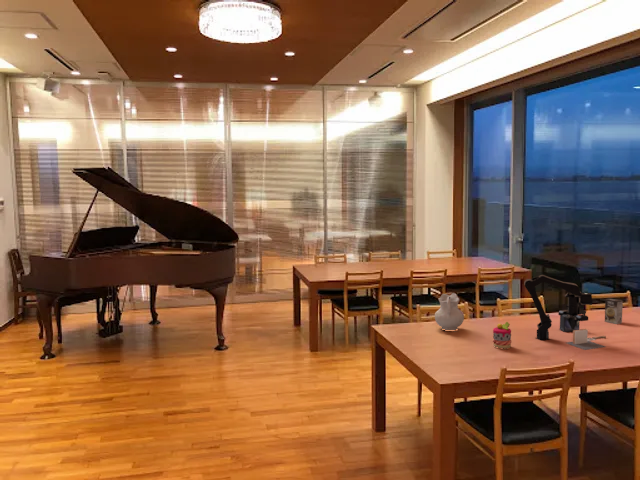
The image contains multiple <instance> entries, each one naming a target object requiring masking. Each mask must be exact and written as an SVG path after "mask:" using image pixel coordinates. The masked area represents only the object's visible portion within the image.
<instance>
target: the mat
mask: <svg viewBox="0 0 640 480" xmlns="http://www.w3.org/2000/svg"><path fill="white" fill-rule="evenodd" d="M565 344H567V345H569V346H572V347H575V348H578V349H581V350H583V351H587V350H593V349H594V350H595V349H602V348H607V346H606V345H603V344H599V343H597V342H593V341H588V340H587V343H581V344H573V341H568V342H565Z"/></svg>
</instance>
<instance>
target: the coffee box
mask: <svg viewBox="0 0 640 480" xmlns="http://www.w3.org/2000/svg"><path fill="white" fill-rule="evenodd" d="M623 304H624V302H623V300H622V299H617V298H605V299H604V322H605V323H610V324H613V325H618V324H623V307H624V306H623Z"/></svg>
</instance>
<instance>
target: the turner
mask: <svg viewBox="0 0 640 480" xmlns="http://www.w3.org/2000/svg"><path fill="white" fill-rule="evenodd" d="M606 338H607V336H606V335H600V336H592V337H587V340H588V341H591V342H593V341H597V339H606Z"/></svg>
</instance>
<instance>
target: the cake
mask: <svg viewBox="0 0 640 480" xmlns="http://www.w3.org/2000/svg"><path fill="white" fill-rule="evenodd" d="M510 325H511V324H510V323H509V322H508V321H506V322H505V323H503V324H502V323H497V326H496V327H494V328H493V329H492V334H493V336H492V337H493V338H492V339H493V340H492V343H493V347H494V346H495V347H498V348H504V349H503V350H506V349H505V348H510V347H512V346H511V345H512V329H511V328H509V327H510ZM495 347H494V348H495ZM510 349H511V348H510Z"/></svg>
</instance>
